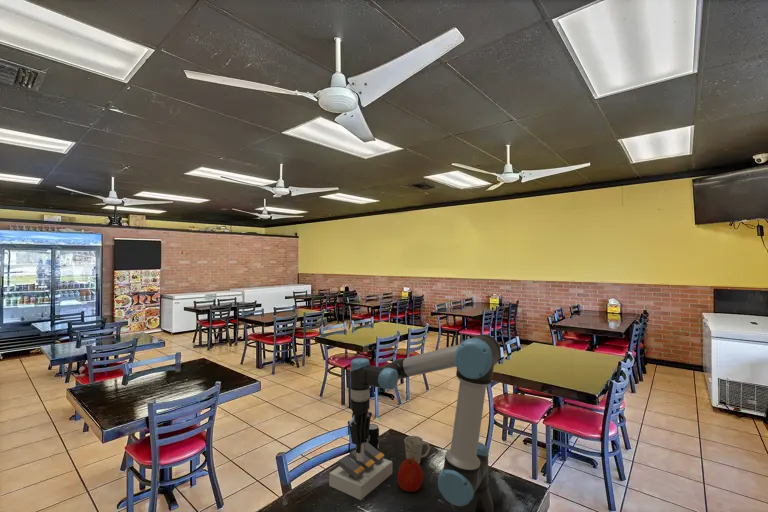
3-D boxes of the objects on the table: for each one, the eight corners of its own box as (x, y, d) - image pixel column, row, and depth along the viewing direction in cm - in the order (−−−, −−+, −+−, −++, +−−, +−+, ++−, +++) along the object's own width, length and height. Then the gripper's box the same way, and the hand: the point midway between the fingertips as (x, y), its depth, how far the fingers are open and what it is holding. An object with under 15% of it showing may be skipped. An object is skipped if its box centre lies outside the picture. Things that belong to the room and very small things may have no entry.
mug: (401, 459, 166) (401, 437, 166) (424, 454, 171) (424, 432, 171) (409, 468, 158) (410, 445, 159) (434, 462, 164) (434, 440, 164)
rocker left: (363, 473, 144) (365, 468, 143) (356, 479, 140) (357, 473, 140) (345, 460, 149) (346, 455, 149) (337, 464, 145) (339, 459, 145)
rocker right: (383, 459, 155) (384, 455, 155) (377, 464, 152) (378, 459, 151) (365, 445, 161) (367, 441, 160) (359, 449, 157) (360, 445, 157)
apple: (424, 482, 149) (424, 455, 149) (420, 497, 139) (420, 469, 139) (400, 477, 151) (400, 452, 152) (394, 492, 141) (394, 464, 142)
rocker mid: (373, 467, 150) (375, 462, 149) (367, 472, 146) (368, 467, 145) (355, 452, 155) (357, 447, 155) (349, 456, 151) (350, 451, 151)
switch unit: (392, 473, 154) (392, 457, 155) (360, 500, 136) (360, 482, 137) (362, 462, 163) (362, 447, 164) (329, 485, 145) (329, 468, 146)
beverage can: (377, 456, 169) (377, 429, 169) (363, 454, 170) (363, 428, 171) (380, 449, 175) (380, 424, 176) (367, 447, 177) (367, 422, 177)
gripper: (362, 392, 151) (362, 450, 150) (342, 401, 140) (342, 464, 139) (377, 395, 147) (377, 455, 145) (357, 405, 136) (357, 470, 135)
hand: (360, 459), depth 142 cm, fingers closed
